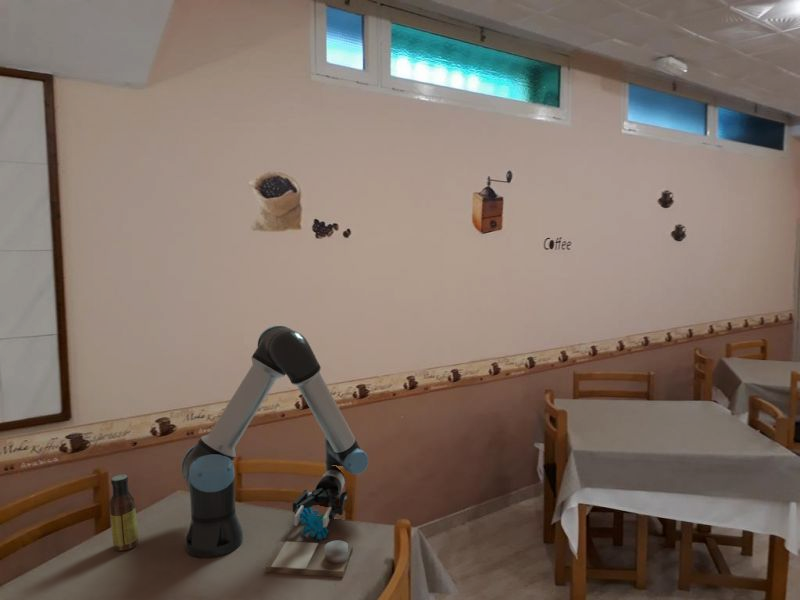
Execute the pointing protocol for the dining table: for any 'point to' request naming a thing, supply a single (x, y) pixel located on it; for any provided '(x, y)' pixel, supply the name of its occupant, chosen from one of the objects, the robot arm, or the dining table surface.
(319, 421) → the robot arm
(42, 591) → the dining table surface
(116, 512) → the sauce bottle
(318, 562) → the wooden board
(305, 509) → the gear
